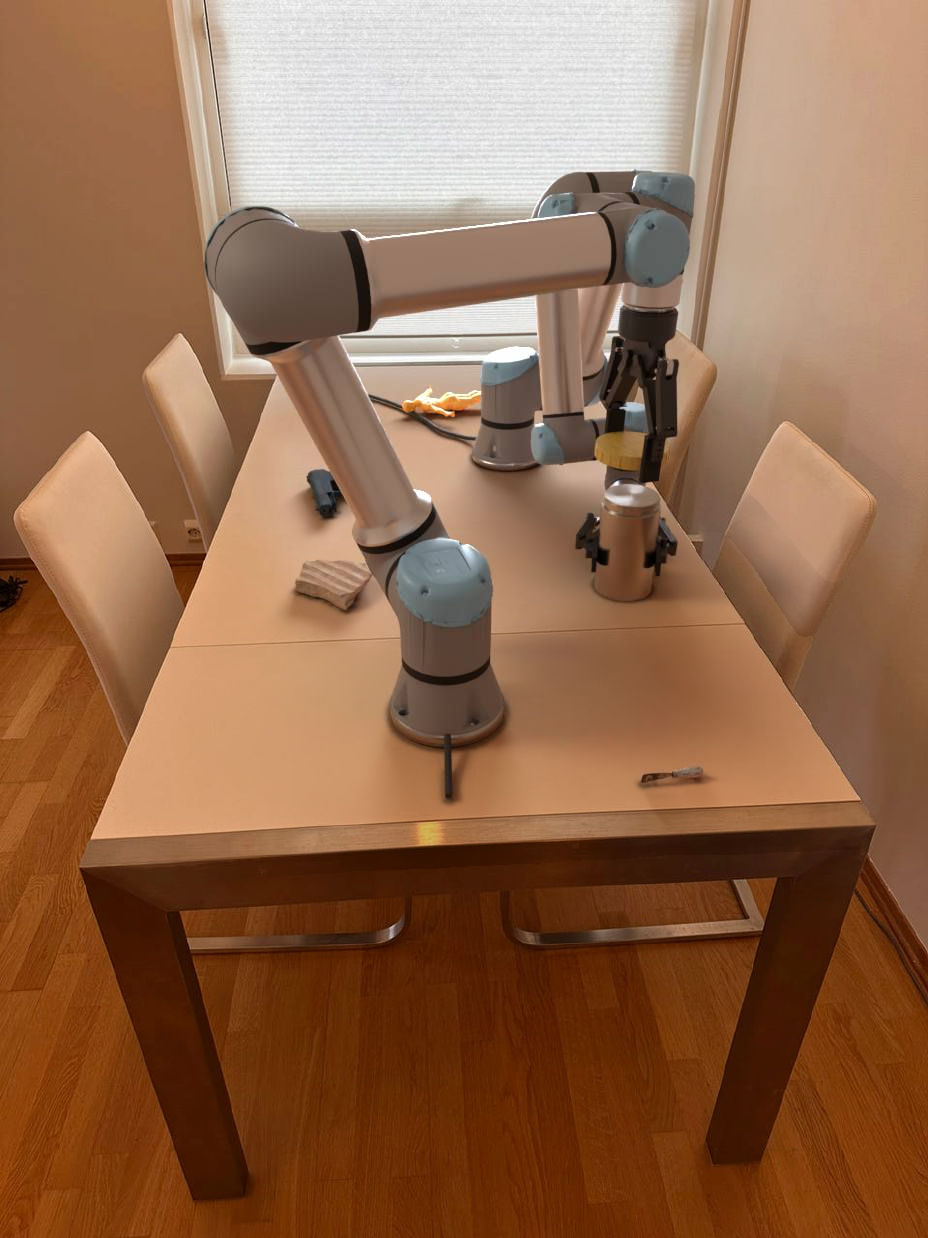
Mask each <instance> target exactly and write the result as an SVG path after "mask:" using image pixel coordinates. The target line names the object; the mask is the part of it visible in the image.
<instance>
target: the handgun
mask: <svg viewBox="0 0 928 1238" xmlns="http://www.w3.org/2000/svg"><path fill="white" fill-rule="evenodd" d="M305 477H306V482H307V483H308V484H309V487H310V489H311V492H312V496H313V498H314V499H313V500H314V502H315V504H316V508H314V511H316V512H318V513H319V516H321V517H322V518H331V517H332V516H333V514H335V513H337V511H338V510H337V509H338V508H337V501H336V499H339V498H342V497H344V496H343V494H342V493H341V491H340V489H339V487H338V485H337V483H336V482H335V480H334V478H333V476H332V474H331V472H330V471H329V470H326V469H324V468H321V469H320V468H319V469H312V470H310V471H309V472H307V475H305ZM333 511H334V512H333Z"/></svg>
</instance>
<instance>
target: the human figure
mask: <svg viewBox="0 0 928 1238" xmlns="http://www.w3.org/2000/svg"><path fill="white" fill-rule="evenodd" d="M424 391H425V392H423V393H422V394H420V395H418V396H416V398H415V399H414V400H404V401H403V402H402V404H401V405H402V407H403V409H402V411H404V412H405V413H409V412H412V411H415V412H417V408H418V409H420V410H421V411H423V412H424V413H427V414H439V415H443V416H444V417H449V416H450V417H451V418H452V417H453V418H454V417H455V416H456V414H455V411H462V410H464V409H467V408H469V407H471V406H473V405H476V404H478V403H481V390H480V391H478V390H473V391H470V392H469V393H468V394H460V393H457V394H455V393H453V392H446V393H444V394H443V395H442V396H441V397H440V398H434V397H429V396H430V395H432V394H433V392H434V391H433V389H432V385H429V387H428V389H424ZM450 410H452V411H450Z"/></svg>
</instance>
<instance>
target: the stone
mask: <svg viewBox="0 0 928 1238" xmlns="http://www.w3.org/2000/svg"><path fill="white" fill-rule="evenodd" d="M372 576H373V574H372V573H371V571H370V569H369V568H368V566H367V564H366V562H365V563H359V562H357V561H353V560H349V559H341V560H340V559H339V560H328V559H316V560H314V561H313V560H311V561H309V560H306V561H304V562H303V563H302V566H301V568H300V572H299V575H298V577H297V578H296V579H295V581H294V585H295V586H294V591H295V592H299V593H301V594H305V595H307V596H310V597H312V598H320V599H324V600H325V601H328V602H329V603H331V604H332V605H334V606H335V607H338V608H339V609H341V610H344V611H347V610H348V608H349V607H351V606H352V605H353V604H354V601H355V598H356V596H357V595H358V594H359V593H360V592H361V590H362V589H364V588H365V587H366V586H367V585H368V583H369V582H370V580H371V579H372Z"/></svg>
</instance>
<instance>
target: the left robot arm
mask: <svg viewBox="0 0 928 1238" xmlns="http://www.w3.org/2000/svg"><path fill="white" fill-rule="evenodd" d="M695 193H696V183H695V180H694V178H693V177H692V176H690V175H689V174H685V173H679V172H667V171H652V172H647V173H640V174H638V175H637V176H636V177H635V179H634V183H633V187H632V190H631V191H629V192H624V193H573V192H569V193H566V194H554V195H550V196H548V197H547V198H546V199H545V200H544V201H543V203H542V205H541V207H540V210H539V213H538V217H537V219H531V218H530V219H531V220H530V219H525V220H515V221H507V222H506V221H505V222H498V223H492V224H491V223H490V224H483V225H475V226H465V227H457V228H447V229H441V230H433V231H432V230H431V231H425V232H415V233H407V234H400V235H399V234H398V235H390V236H381V237H374V238H366V237H365V236H364V235H362V234H361V232H359V231H358V230H356V229H346V230H337V231H336V230H335V231H333V230H332V231H326V230H324V231H322V230H313V229H306V228H303V227H299V226H298V224H297V223H296V222H295V221H294V220H293V218H291V216H289V215H287V214H286V213H284V212H282V211H281V210H279V209H276V208H272V207H270V206H263V205H260V206H259V205H248V206H243V207H239V208H236V209H233V210H231V211H230V212H228V213H226V214H224V216H223V217H221V218H220V219H219V220H218V221H217V222H216V223H215V225H214V226H213V227H212V229H211V231H210V233H209V234H208V238H207V240H206V244H205V248H204V254H203V264H204V272H205V276H206V279H207V281H208V283H209V285H210V287H211V289H212V291H213V292H214V293H215V295H216V296H217V297H218V299H219V300H220V302H221V304H222V307H223V308H224V310H225V312H226V314H227V315H228V316H229V318H230V320H231V321H232V323H233V325H234V327H235V329H236V331H237V332H238V334H239V336H240V338H241V339H242V342H243V343H244V345H245V347H246V348H247V350H248V352H249V353H250V355H251V356H252V357H254V358H256V359H261V360H263V361H267V362H268V363H270V365H271V367H272V368H273V370H274V372H275V374H276V375H277V378H278V379H279V381H280V383H281V385H282V386H283V389H284V391H285V392H286V394H287V396H288V398H289V399H290V401H291V403H292V405H293V406H294V409H295V410H296V411H297V412H296V413H297V414H298V416H299V417H300V419H301V421H302V423H303V425H304V427H305V428H306V430H307V432H308V434H309V436H310V438H311V440H312V441H313V443H314V445H315V447H316V449H317V450H318V452H319V454H320V456H321V457H322V459H323V462H324V463H325V465H326V467H327V469H328V471H330V472H331V474H332V476H333V478H334V480H335V482H336V483H337V485H338V487H339V489H340V491H341V493H342V494H343V497H344V500H345V501H346V504H347V505H348V507H349V509H350V511H351V513H352V514H353V516H354V518H355V521H354V523H353V525H352V527H351V535H352V538H353V540H354V542H355V544H356V545H357V547H358V549H359V551H360V553H361V554H362V556H363V558H364V561H365V563H366V567H367V568H368V569H369V570H370V571H371V573H372V576H373V578H375V579H376V581H377V583H378V585H379V587H380V589H381V591H382V592H383V594H384V596H385V598H386V599H387V602H388V604H389V605H390V607H391V609H392V611H393V612H394V614H395V616H396V618H397V621H398V625H399V626H398V627H399V633H400V634H399V635H400V655H401V667H400V669H399V672H398V675H397V678H396V681H395V684H394V687H393V690H392V693H391V695H390V699H389V706H390V718H391V721H392V724H393V725H394V727H395V728H396V729H397V731H398V732H399V733H400V734H402V735H403V736H404V737H406V738H407V739H409V740H411V741H413V742H415V743H417V744H420V745H421V744H422V745H425V746H430V747H437V748H443V753H444V756H443V759H444V797H445V799H448V800H450V799H453V755H452V748H454V747H455V748H457V747H463V746H467V745H471V744H473V743H476V742H480V741H481V740H483V739H485V738H486V737H488V736H489V735H491V734H492V733H493V732H494V731H495V730H496V729H498V727H499V726H500V724H501V722H502V720H503V717H504V702H505V701H504V696H503V695H504V694H503V693H502V690H501V687H500V685H499V682H498V679H497V677H496V674H495V672H494V668H493V666H492V664H491V654H492V653H491V651H492V649H491V648H492V608H493V607H492V605H493V595H494V585H493V578H492V572H491V567H490V565H489V562H488V560H487V559H486V557H485V556H484V554H482V553H481V551H479V550H478V549H477V548H475V547H473V546H472V545H470V544H468V543H465V544H462V543H461V541H460V540H457V539H451V537H450V535H449V533H448V532H447V529H446V528H445V525H444V523H443V521H442V519H441V517H440V515H439V512H438V510H437V509H436V506H435V504H434V502H433V500H432V498H431V496H430V495H429V494H428V493H427V492H424V491H422V490H418V489H414V487H413V484H412V483H411V481H410V479H409V477H408V475H407V473H406V471H405V468H404V466H403V464H402V463H401V461H400V460H401V459H399V456H398V454H397V452H396V450H395V448H394V446H393V444H392V442H391V440H390V438H389V436H388V433H387V431H386V430H385V427H384V426H383V423H382V421H381V419H380V416H379V414H378V413H377V410H376V409H375V406H374V405H373V403H372V401H371V398H369V396H368V394H369V393H368V392H367V390H366V388H365V387H364V384H363V381H362V380H361V377H360V376H359V374H358V372H357V370H356V367H355V366H354V363H353V362H352V359H351V357H350V355H349V353H348V351H347V349H346V347H345V345H344V343H343V340H342V338H341V336H344V335H349V334H356V333H357V334H358V333H363V332H369V331H371V330H372V329H373V328H374V327H375V325H376V324H377V322H378V320H380V319H387V318H391V317H398V316H406V315H412V314H413V315H414V314H420V313H427V312H433V311H439V310H447V309H454V308H459V307H460V308H461V307H467V306H468V307H469V306H474V305H480V304H486V303H487V304H488V303H493V302H502V301H508V300H514V299H515V300H516V299H522V298H528V297H535V296H536V295H543V294H549V293H556V292H563V291H570V290H577V289H584V288H590V287H597V286H606V285H614V284H621V283H623V286H622V289H621V293H620V300H621V303H623V305H621V306H620V308H619V315H618V323H617V326H618V327H617V333H618V335H616V336H615V335H614V336H612V337H611V347H610V354H609V357H608V360H607V361H608V365H607V368H606V372H605V376H604V379H603V383H602V387H601V390H600V394H599V398H600V400H601V401H600V402H602V401H604V409H606V412H605V413H606V414H605V418H606V422H605V432H604V434H607V433H611V432H621V431H624V424H625V415H626V410H625V409H620V408H621V407H627V404H626V402H627V399H628V397H629V395H630V393H631V391H632V389H633V388H634V385H635V383H636V381H637V385H638V388H639V389H641V390H642V397H643V403H644V404H643V405H645V411H646V418H647V424H648V431H649V434H647V435H645V436H644V437H645V438H644V446H643V453H642V461H641V468H640V476H639V482H640V483H646V484H647V483H656V482H660V474H661V469H662V467H661V462H662V459H663V454H664V447H665V441H666V442H667V439H670V438H676V437H677V436H678V433H679V432H678V429H679V428H678V374H679V367H680V360H679V359H677V358H672V359H670V358H668V357H667V351H666V345H667V344H668V342H669V341H671V340H673V339H674V338H675V337H676V332H677V328H678V327H677V325H678V319H679V311H678V308H676V307H677V306H679V304H680V302H681V296H682V295H681V294H682V287H683V283H684V272H685V268H686V265H687V263H688V260H689V256H690V250H691V239H690V236H691V235H690V234H691V229H692V223H693V219H694V215H695V214H694V210H695V209H694V207H695V198H696V194H695ZM367 393H368V394H367ZM625 405H626V406H625Z"/></svg>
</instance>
